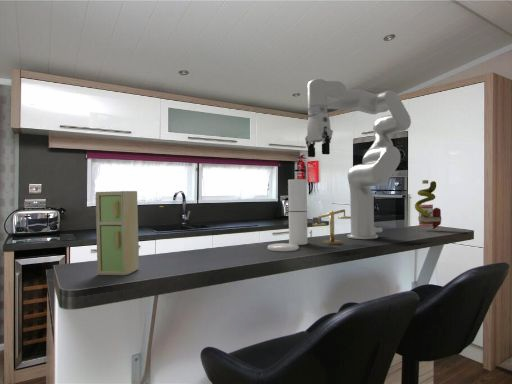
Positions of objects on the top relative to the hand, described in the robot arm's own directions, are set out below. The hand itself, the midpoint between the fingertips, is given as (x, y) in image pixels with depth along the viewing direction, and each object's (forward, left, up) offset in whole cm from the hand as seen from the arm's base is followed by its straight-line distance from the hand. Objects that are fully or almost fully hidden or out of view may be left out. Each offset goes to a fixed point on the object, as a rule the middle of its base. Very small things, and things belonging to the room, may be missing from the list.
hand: (318, 155), depth 126 cm
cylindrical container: (+8, -3, -34) cm, 36 cm away
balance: (-3, +4, -34) cm, 35 cm away
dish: (+19, +5, -34) cm, 40 cm away
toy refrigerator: (+73, +16, -34) cm, 82 cm away
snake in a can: (-68, -6, -34) cm, 76 cm away
